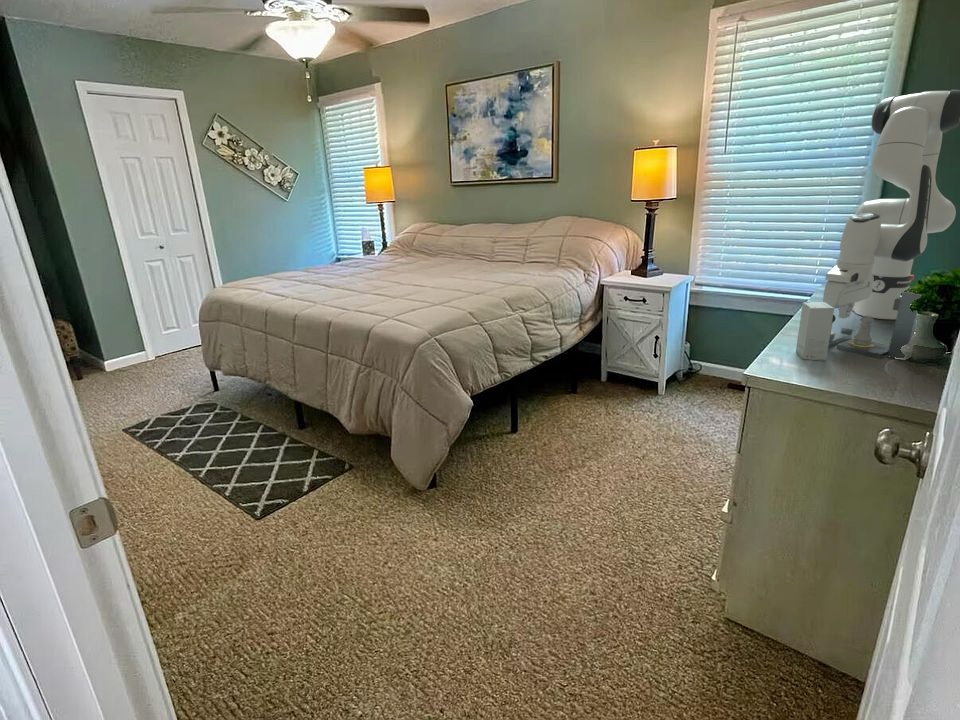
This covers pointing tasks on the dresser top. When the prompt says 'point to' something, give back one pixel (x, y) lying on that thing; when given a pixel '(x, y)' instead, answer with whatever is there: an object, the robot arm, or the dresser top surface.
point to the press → (900, 335)
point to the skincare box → (814, 330)
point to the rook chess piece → (864, 331)
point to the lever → (831, 328)
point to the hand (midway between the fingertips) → (843, 317)
